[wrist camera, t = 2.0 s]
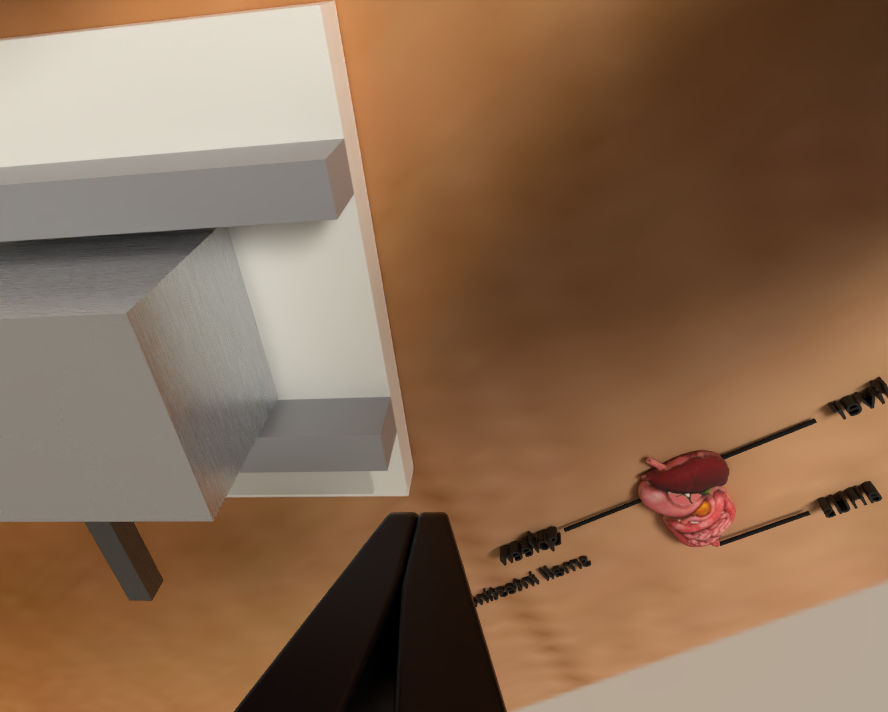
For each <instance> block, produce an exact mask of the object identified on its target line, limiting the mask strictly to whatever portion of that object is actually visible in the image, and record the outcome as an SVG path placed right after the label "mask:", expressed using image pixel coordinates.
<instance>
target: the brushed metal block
mask: <svg viewBox="0 0 888 712" xmlns="http://www.w3.org/2000/svg"><path fill="white" fill-rule="evenodd" d="M277 399H278V395H277V392H276V388H275V385H274V382H273V378H272V375H271V372H270V368H269V365H268V362H267V358H266V355H265V351H264V348H263V345H262V341H261V338H260V335H259V331H258V328H257V325H256V321H255V318H254V314H253V311H252V308H251V304H250V301H249V298H248V294H247V291H246V288H245V284H244V281H243V278H242V274H241V271H240V267H239V264H238V261H237V257H236V254H235V251H234V247H233V244H232V241H231V237H230V234H229V231H228V227H215V228H200V229H185V230H170V231H155V232H141V233H126V234H111V235H96V236H81V237H66V238H51V239H36V240H21V241H6V242H0V522H85V524H86V525H87V527H88V529H89V531H90V532H91V534H92V536H93V538H94V539H95V541H96V543H97V545H98V546H99V548H100V550H101V552H102V553H103V555H104V557H105V558H106V560H107V562H108V564H109V565H110V567H111V569H112V571H113V572H114V574H115V576H116V578H117V579H118V581H119V583H120V585H121V586H122V588H123V590H124V592H125V593H126V595H127V597H128V598H129V600H143V601H152V600H153V598H154V596H155V594H156V593H157V591H158V589H159V587H160V585H161V584H162V582H163V579H162V577H161V575H160V573H159V571H158V569H157V567H156V565H155V563H154V561H153V559H152V557H151V555H150V553H149V552H148V550H147V548H146V546H145V544H144V542H143V540H142V538H141V536H140V534H139V532H138V530H137V528H136V526H135V524H134V522H136V521H214V519H215V517H216V515H217V513H218V512H219V510H220V508H221V506H222V504H223V502H224V500H225V498H226V496H227V494H228V492H229V491H230V489H231V487H232V485H233V483H234V481H235V479H236V477H237V475H238V473H239V471H240V470H241V468H242V466H243V464H244V462H245V460H246V458H247V456H248V454H249V452H250V450H251V449H252V447H253V445H254V443H255V441H256V439H257V437H258V435H259V433H260V431H261V429H262V428H263V426H264V424H265V422H266V420H267V418H268V416H269V414H270V412H271V410H272V408H273V407H274V405H275V403H276V401H277Z"/></svg>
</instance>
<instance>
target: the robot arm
mask: <svg viewBox="0 0 888 712" xmlns="http://www.w3.org/2000/svg"><path fill="white" fill-rule="evenodd" d="M234 712H507V710H506V707H505V704H504V700H503V697H502V694H501V690H500V687H499V684H498V680H497V677H496V674H495V670H494V667H493V664H492V660H491V657H490V654H489V650H488V647H487V644H486V640H485V637H484V634H483V630H482V627H481V624H480V620H479V617H478V614H477V610H476V607H475V604H474V600H473V597H472V594H471V590H470V587H469V584H468V580H467V577H466V574H465V570H464V567H463V564H462V560H461V557H460V554H459V550H458V547H457V544H456V540H455V537H454V533H453V530H452V527H451V523H450V520H449V517H448V515H447V514H446V513H444V512H423V513H421V514H420V515H419V516H418V514H416V513H414V512H393V513H390V514H389V515H388V516H387V517H386V518H385V519H384V521H383V522H382V523H381V524H380V526H379V527H378V528H377V529H376V531H375V532H374V533H373V535H372V536H371V537H370V538H369V540H368V541H367V542H366V543H365V545H364V546H363V547H362V549H361V550H360V551H359V552H358V554H357V555H356V556H355V558H354V559H353V560H352V561H351V563H350V564H349V565H348V566H347V568H346V569H345V570H344V572H343V573H342V574H341V575H340V577H339V578H338V579H337V581H336V582H335V583H334V584H333V586H332V587H331V588H330V589H329V591H328V592H327V593H326V595H325V596H324V597H323V598H322V600H321V601H320V602H319V604H318V605H317V606H316V607H315V609H314V610H313V611H312V612H311V614H310V615H309V616H308V618H307V619H306V620H305V621H304V623H303V624H302V625H301V627H300V628H299V629H298V630H297V632H296V633H295V634H294V635H293V637H292V638H291V639H290V641H289V642H288V643H287V644H286V646H285V647H284V648H283V650H282V651H281V652H280V653H279V655H278V656H277V657H276V658H275V660H274V661H273V662H272V664H271V665H270V666H269V667H268V669H267V670H266V671H265V673H264V674H263V675H262V676H261V678H260V679H259V680H258V681H257V683H256V684H255V685H254V687H253V688H252V689H251V690H250V692H249V693H248V694H247V695H246V697H245V698H244V699H243V701H242V702H241V703H240V704H239V706H238V707H237V708H236V710H235V711H234Z"/></svg>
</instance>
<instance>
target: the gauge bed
mask: <svg viewBox="0 0 888 712" xmlns="http://www.w3.org/2000/svg"><path fill="white" fill-rule="evenodd" d="M215 227H228V231H229V234H230V237H231V241H232V244H233V247H234V251H235V254H236V257H237V261H238V264H239V267H240V271H241V274H242V278H243V281H244V284H245V288H246V291H247V294H248V298H249V301H250V304H251V308H252V311H253V314H254V318H255V321H256V325H257V328H258V331H259V335H260V338H261V341H262V345H263V348H264V351H265V355H266V358H267V362H268V365H269V368H270V372H271V375H272V378H273V382H274V385H275V388H276V392H277V395H278V399H277V401H276V403H275V405H274V407H273V408H272V410H271V412H270V414H269V416H268V418H267V420H266V422H265V424H264V426H263V428H262V429H261V431H260V433H259V435H258V437H257V439H256V441H255V443H254V445H253V447H252V449H251V450H250V452H249V454H248V456H247V458H246V460H245V462H244V464H243V466H242V468H241V470H240V471H239V473H238V475H237V477H236V479H235V481H234V483H233V485H232V487H231V489H230V491H229V492H228V494H227V496H226V497H343V496H409V491H410V486H411V480H412V475H413V470H414V467H413V461H412V455H411V449H410V444H409V438H408V432H407V426H406V420H405V414H404V408H403V402H402V396H401V390H400V384H399V378H398V372H397V367H396V361H395V355H394V349H393V343H392V337H391V331H390V325H389V319H388V313H387V307H386V301H385V295H384V289H383V284H382V278H381V272H380V266H379V260H378V254H377V248H376V242H375V236H374V230H373V224H372V218H371V212H370V206H369V201H368V195H367V189H366V183H365V177H364V171H363V165H362V159H361V153H360V147H359V141H358V135H357V129H356V124H355V118H354V112H353V106H352V100H351V94H350V88H349V82H348V76H347V70H346V64H345V58H344V52H343V46H342V41H341V35H340V29H339V23H338V17H337V11H336V5H335V1H327V2H318V3H310V4H301V5H292V6H283V7H274V8H266V9H257V10H248V11H239V12H230V13H222V14H213V15H204V16H195V17H186V18H178V19H169V20H160V21H151V22H142V23H133V24H125V25H116V26H107V27H98V28H89V29H81V30H72V31H63V32H54V33H45V34H37V35H28V36H19V37H10V38H1V39H0V242H6V241H21V240H36V239H51V238H66V237H81V236H96V235H111V234H126V233H141V232H155V231H170V230H185V229H200V228H215Z"/></svg>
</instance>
